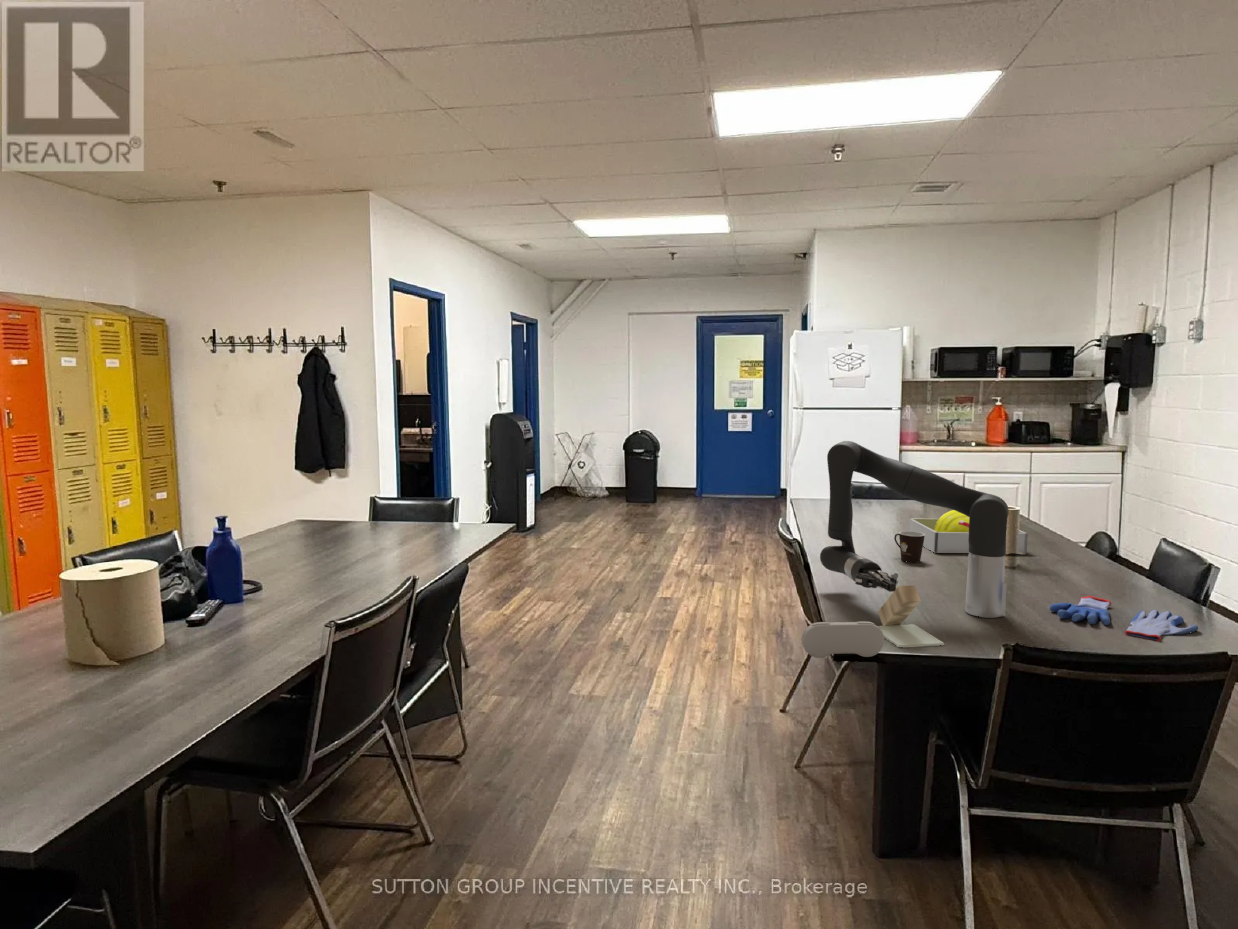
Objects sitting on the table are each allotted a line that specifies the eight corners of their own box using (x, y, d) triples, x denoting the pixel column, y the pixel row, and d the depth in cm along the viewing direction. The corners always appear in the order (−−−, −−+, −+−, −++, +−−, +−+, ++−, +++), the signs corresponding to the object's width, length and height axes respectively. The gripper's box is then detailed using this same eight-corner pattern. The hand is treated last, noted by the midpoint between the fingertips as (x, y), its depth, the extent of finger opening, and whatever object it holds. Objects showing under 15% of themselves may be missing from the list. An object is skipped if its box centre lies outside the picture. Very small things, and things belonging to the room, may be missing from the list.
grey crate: (991, 538, 304) (992, 519, 303) (1026, 554, 277) (1027, 533, 276) (907, 537, 306) (908, 518, 305) (934, 553, 278) (935, 532, 277)
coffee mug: (927, 564, 262) (928, 536, 261) (902, 563, 263) (904, 536, 261) (914, 556, 274) (916, 529, 273) (891, 555, 274) (892, 529, 273)
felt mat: (871, 628, 195) (871, 626, 195) (913, 626, 197) (913, 624, 196) (898, 647, 181) (898, 645, 181) (943, 645, 183) (943, 643, 183)
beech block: (893, 610, 200) (914, 585, 189) (899, 626, 197) (921, 601, 186) (877, 611, 199) (898, 586, 188) (883, 627, 196) (904, 601, 185)
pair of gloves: (1203, 626, 199) (1205, 613, 198) (1183, 650, 181) (1184, 636, 181) (1070, 600, 222) (1071, 588, 222) (1041, 619, 205) (1042, 606, 204)
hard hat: (918, 539, 302) (920, 503, 301) (987, 543, 296) (989, 506, 294) (926, 550, 283) (928, 512, 281) (1000, 554, 277) (1002, 515, 275)
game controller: (880, 653, 178) (881, 620, 177) (884, 657, 175) (885, 623, 174) (800, 655, 177) (801, 621, 176) (803, 658, 174) (804, 624, 174)
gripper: (841, 559, 211) (869, 575, 194) (884, 557, 213) (916, 573, 196) (840, 584, 212) (868, 602, 195) (883, 582, 214) (915, 600, 197)
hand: (892, 588), depth 195 cm, fingers closed
